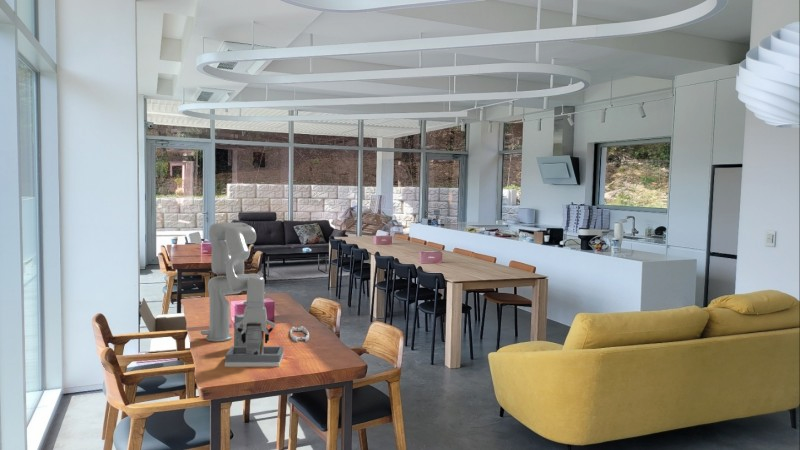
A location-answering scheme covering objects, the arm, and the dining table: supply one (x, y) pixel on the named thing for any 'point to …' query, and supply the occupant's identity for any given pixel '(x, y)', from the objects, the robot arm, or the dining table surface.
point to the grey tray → (253, 357)
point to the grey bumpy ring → (299, 337)
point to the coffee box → (254, 339)
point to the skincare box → (236, 333)
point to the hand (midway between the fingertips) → (255, 342)
